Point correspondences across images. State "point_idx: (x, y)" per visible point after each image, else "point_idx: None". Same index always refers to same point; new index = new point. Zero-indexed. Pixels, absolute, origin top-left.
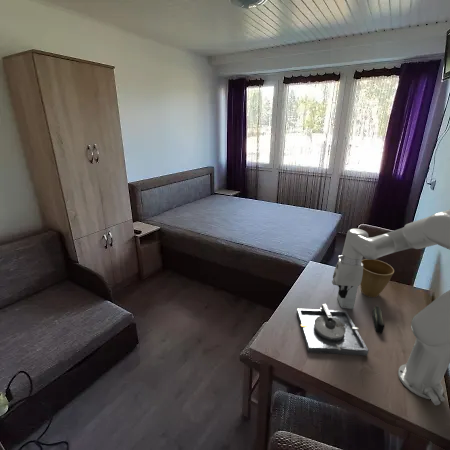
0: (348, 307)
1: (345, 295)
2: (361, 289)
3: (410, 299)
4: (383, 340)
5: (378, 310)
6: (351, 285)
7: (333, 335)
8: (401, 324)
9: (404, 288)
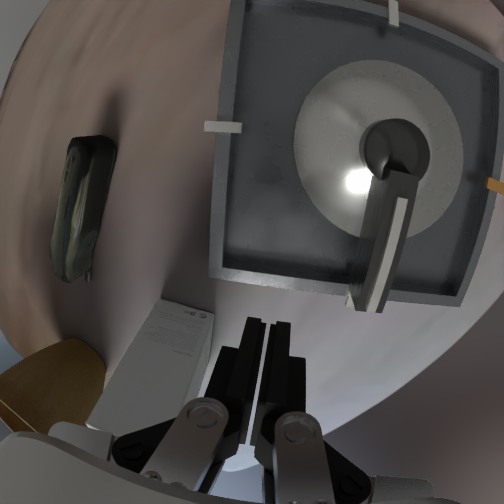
0: (180, 307)
1: (246, 342)
2: (104, 376)
3: (5, 305)
4: (113, 96)
5: (59, 247)
6: (151, 498)
7: (401, 72)
8: (29, 200)
9: (15, 342)
